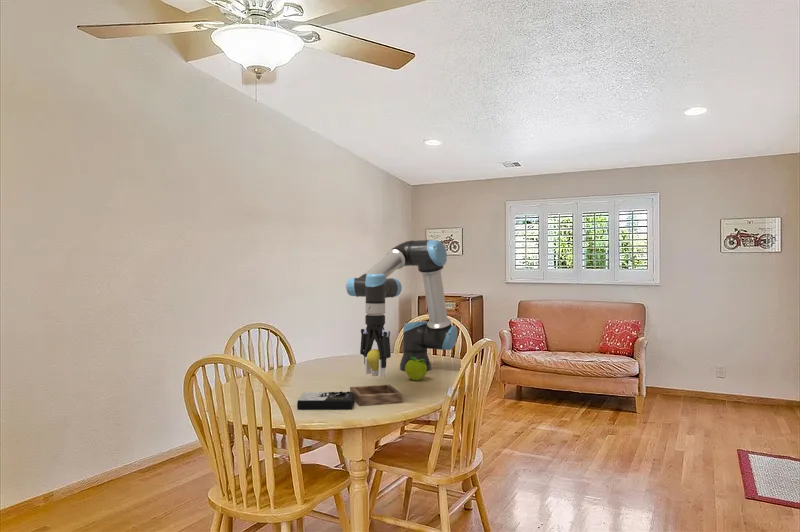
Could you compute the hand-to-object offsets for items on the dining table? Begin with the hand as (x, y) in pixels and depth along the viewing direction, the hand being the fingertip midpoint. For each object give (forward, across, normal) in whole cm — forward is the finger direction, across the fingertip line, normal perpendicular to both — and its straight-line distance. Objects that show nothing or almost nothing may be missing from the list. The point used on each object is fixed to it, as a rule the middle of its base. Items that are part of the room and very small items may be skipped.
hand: (375, 374), depth 205 cm
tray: (+9, 0, 0) cm, 9 cm away
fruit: (+9, -11, +37) cm, 39 cm away
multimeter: (+10, -7, -18) cm, 22 cm away
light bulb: (0, 0, 0) cm, 0 cm away
